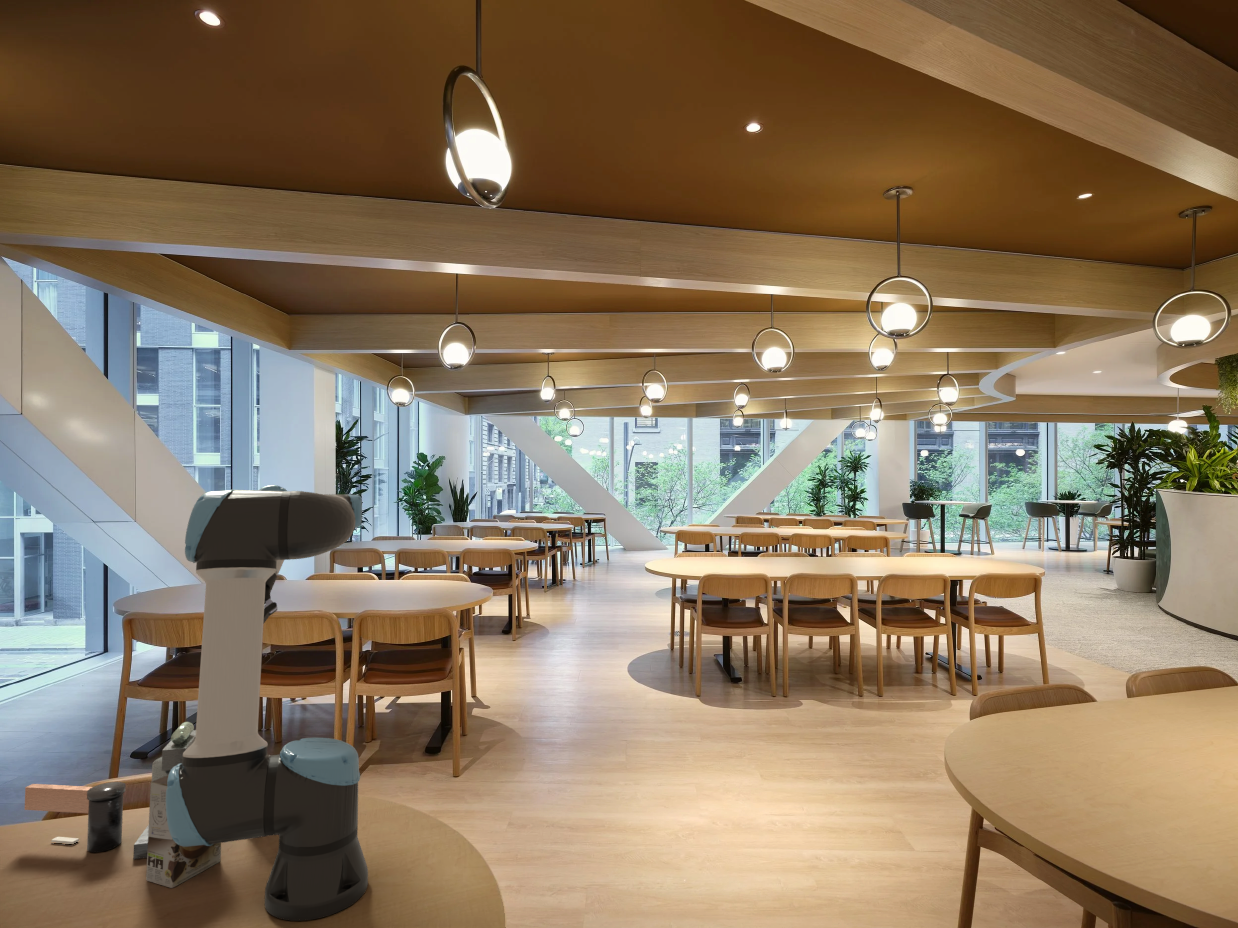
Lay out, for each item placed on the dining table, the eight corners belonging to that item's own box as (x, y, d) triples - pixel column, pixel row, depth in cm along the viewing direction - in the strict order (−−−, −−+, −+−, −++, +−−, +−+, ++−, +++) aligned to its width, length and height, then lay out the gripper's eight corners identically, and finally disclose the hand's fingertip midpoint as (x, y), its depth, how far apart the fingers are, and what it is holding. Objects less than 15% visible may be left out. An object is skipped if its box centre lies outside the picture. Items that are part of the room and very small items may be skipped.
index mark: (78, 841, 127) (78, 838, 127) (72, 844, 126) (72, 841, 126) (57, 839, 128) (57, 836, 128) (51, 843, 127) (51, 839, 127)
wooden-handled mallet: (131, 837, 128) (133, 782, 129) (106, 853, 123) (108, 795, 123) (41, 832, 130) (43, 777, 130) (12, 848, 124) (14, 790, 125)
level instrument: (205, 850, 125) (208, 733, 125) (133, 859, 122) (137, 739, 122) (220, 821, 135) (223, 714, 136) (154, 829, 132) (158, 719, 133)
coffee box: (173, 889, 113) (176, 787, 113) (144, 881, 115) (148, 781, 115) (222, 861, 121) (225, 766, 122) (195, 853, 124) (198, 761, 124)
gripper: (291, 584, 160) (249, 685, 146) (231, 571, 157) (182, 673, 143) (289, 569, 154) (246, 673, 140) (227, 555, 152) (176, 660, 137)
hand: (214, 673), depth 141 cm, fingers closed
